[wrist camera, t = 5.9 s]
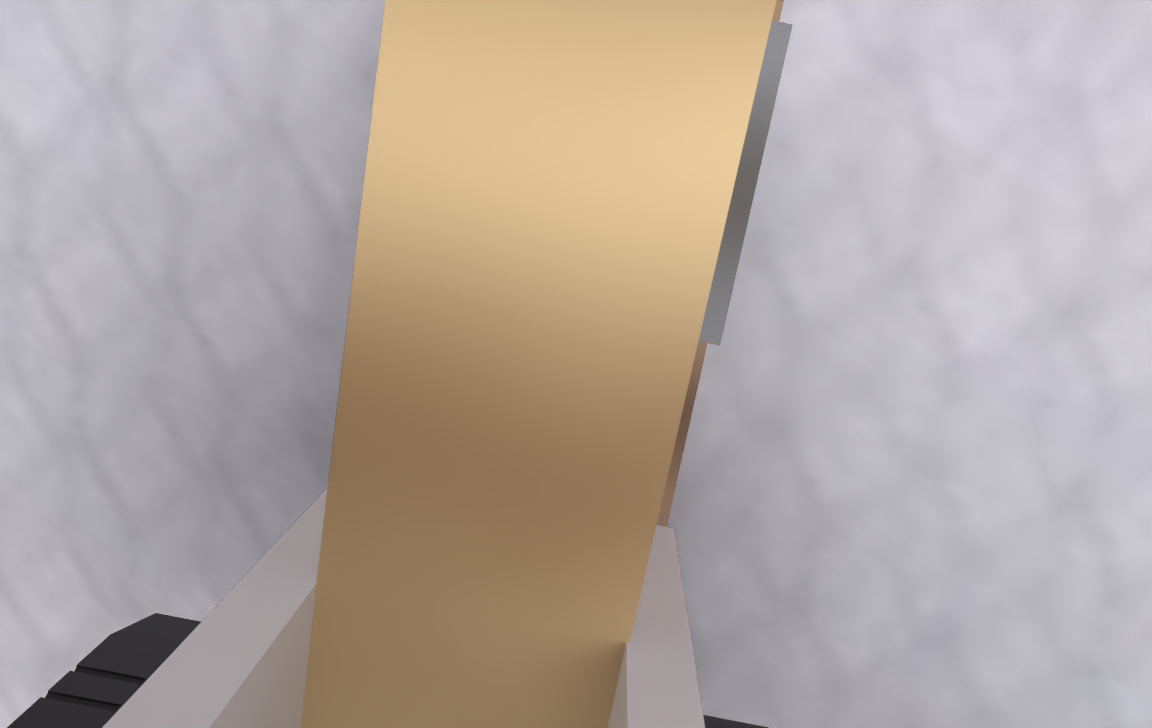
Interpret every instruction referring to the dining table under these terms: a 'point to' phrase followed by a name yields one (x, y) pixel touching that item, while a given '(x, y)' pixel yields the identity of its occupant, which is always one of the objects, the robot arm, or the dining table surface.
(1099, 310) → the dining table surface
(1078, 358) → the dining table surface
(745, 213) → the cap board
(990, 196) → the dining table surface
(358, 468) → the brass rectangular bar
